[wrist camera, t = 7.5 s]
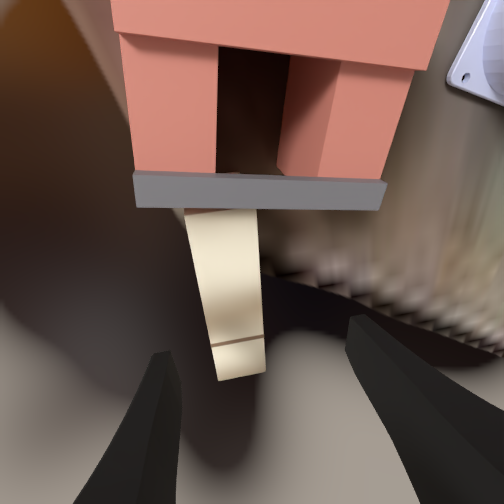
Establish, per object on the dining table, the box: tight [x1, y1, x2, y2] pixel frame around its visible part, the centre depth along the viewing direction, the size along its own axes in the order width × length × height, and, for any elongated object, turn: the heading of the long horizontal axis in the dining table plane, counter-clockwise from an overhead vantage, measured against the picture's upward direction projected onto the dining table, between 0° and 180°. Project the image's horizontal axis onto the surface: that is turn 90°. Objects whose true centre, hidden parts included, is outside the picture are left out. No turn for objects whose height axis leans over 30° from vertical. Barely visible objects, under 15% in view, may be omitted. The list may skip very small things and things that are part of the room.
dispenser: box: [111, 0, 450, 210], centre depth 12 cm, size 10×10×7 cm
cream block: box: [184, 171, 266, 381], centre depth 18 cm, size 12×3×6 cm, turn 4°
